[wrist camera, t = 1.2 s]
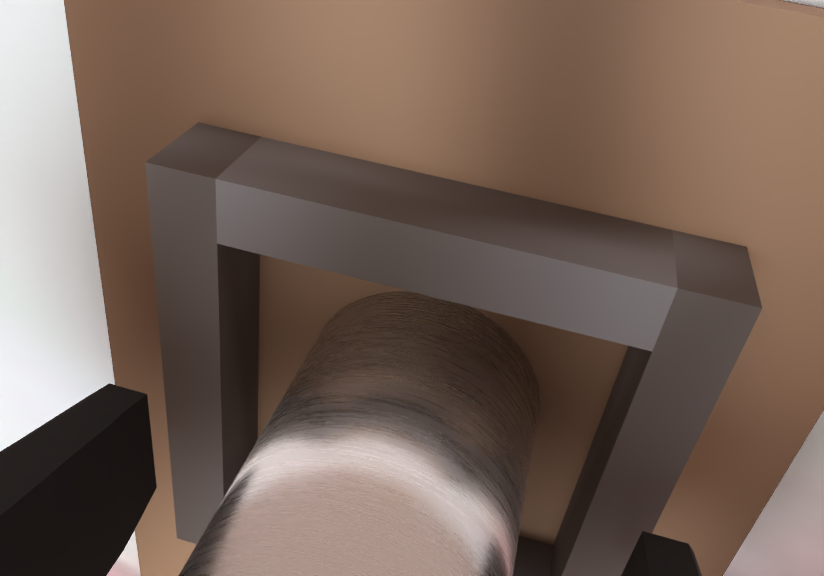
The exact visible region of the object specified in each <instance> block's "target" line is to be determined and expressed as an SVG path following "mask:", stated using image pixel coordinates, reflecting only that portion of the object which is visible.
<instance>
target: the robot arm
mask: <svg viewBox="0 0 824 576" xmlns="http://www.w3.org/2000/svg"><path fill="white" fill-rule="evenodd" d="M156 488H157V484H156V475H155V465H154V455H153V445H152V436H151V426H150V416H149V406H148V397H147V394H145V393H142V392H138V391H135V390H131V389H127V388H124V387H120V386H116V385H113V384H108V385H106V386H104V387H103V388H101V389H99V390H98V391H96V392H95V393H93V394H91V395H90V396H88V397H86V398H85V399H83V400H82V401H80V402H78V403H77V404H75V405H74V406H72V407H70V408H69V409H67V410H66V411H64V412H63V413H61V414H59V415H58V416H56V417H55V418H53V419H52V420H50V421H48V422H47V423H45V424H44V425H42V426H41V427H39V428H37V429H36V430H34V431H33V432H31V433H29V434H28V435H26V436H25V437H23V438H22V439H20V440H18V441H17V442H15V443H14V444H12V445H10V446H9V447H7V448H5V449H4V450H2V451H1V452H0V576H106V575H107V574H108V572H109V571H110V569H111V568H112V566H113V565H114V563H115V562H116V560H117V559H118V557H119V556H120V554H121V553H122V551H123V550H124V548H125V546H126V545H127V543H128V541H129V539H130V537H131V535H132V534H133V532H134V530H135V528H136V526H137V525H138V523H139V521H140V519H141V517H142V515H143V513H144V511H145V509H146V507H147V505H148V503H149V501H150V500H151V498H152V496H153V494H154V492H155V490H156ZM621 576H702V574H701V571H700V568H699V565H698V563H697V560H696V557H695V554H694V551H693V550H692V548H691V547H690V545H689V544H688V543H684V542H681V541H677V540H674V539H670V538H666V537H663V536H659V535H655V534H652V533H648V532H645V531H642V533H641V535H640V537H639V539H638V541H637V543H636V545H635V548H634V550H633V552H632V554H631V556H630V558H629V560H628V562H627V564H626V566H625V568H624V570H623V573H622V575H621Z"/></svg>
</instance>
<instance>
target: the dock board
mask: <svg viewBox="0 0 824 576" xmlns="http://www.w3.org/2000/svg"><path fill="white" fill-rule="evenodd" d="M64 5H65V12H66V20H67V27H68V35H69V42H70V50H71V57H72V65H73V72H74V80H75V87H76V95H77V102H78V110H79V117H80V124H81V132H82V139H83V147H84V154H85V162H86V169H87V177H88V184H89V192H90V199H91V207H92V214H93V222H94V229H95V237H96V244H97V251H98V259H99V266H100V274H101V281H102V289H103V296H104V304H105V311H106V319H107V326H108V334H109V341H110V349H111V356H112V364H113V371H114V378H115V385H116V386H120V387H124V388H127V389H131V390H135V391H138V392H142V393H145V394H147V397H148V406H149V416H150V426H151V436H152V445H153V455H154V465H155V475H156V484H157V488H156V490H155V492H154V494H153V496H152V498H151V500H150V501H149V503H148V505H147V507H146V509H145V511H144V513H143V515H142V517H141V519H140V521H139V523H138V525H137V526H136V528H135V535H136V543H137V550H138V558H139V565H140V573H141V576H179V574H180V572H181V571H182V569H183V567H184V565H185V564H186V562H187V560H188V559H189V557H190V555H191V553H192V552H193V550H194V548H195V547H196V545H197V543H198V541H199V540H200V538H201V536H202V535H203V533H204V531H205V529H206V528H207V526H208V524H209V523H210V521H211V519H212V517H213V516H214V514H215V512H216V511H217V509H218V507H219V505H220V504H221V502H222V500H223V499H224V497H225V495H226V493H227V492H228V490H229V488H230V487H231V485H232V483H233V481H234V480H235V478H236V476H237V474H238V473H239V471H240V469H241V468H242V466H243V464H244V462H245V461H246V459H247V457H248V456H249V454H250V452H251V450H252V449H253V447H254V445H255V444H256V442H257V440H258V438H259V437H260V435H261V433H262V432H263V430H264V428H265V426H266V425H267V423H268V421H269V420H270V418H271V416H272V414H273V413H274V411H275V409H276V408H277V406H278V404H279V402H280V401H281V399H282V397H283V396H284V394H285V392H286V390H287V389H288V387H289V385H290V384H291V382H292V380H293V378H294V377H295V375H296V373H297V372H298V370H299V368H300V366H301V365H302V363H303V361H304V360H305V358H306V356H307V354H308V353H309V351H310V349H311V348H312V346H313V344H314V342H315V341H316V339H317V337H318V335H319V334H320V332H321V330H322V329H323V327H324V326H325V325H326V323H327V322H328V321H329V320H330V318H332V317H333V316H334V315H335V314H336V313H337V312H338V311H339V310H341V309H342V308H344V307H346V306H347V305H349V304H350V303H352V302H355V301H357V300H359V299H361V298H364V297H367V296H371V295H374V294H379V293H385V292H391V291H410V292H414V293H418V294H422V295H426V296H430V297H434V298H438V299H442V300H446V301H450V302H455V303H459V304H463V305H467V306H470V307H472V308H474V309H475V310H477V311H479V312H481V313H482V314H484V315H486V316H487V317H489V318H490V319H491V320H493V321H494V322H496V323H497V324H498V325H499V326H500V327H502V328H503V329H504V330H505V331H506V332H507V333H508V334H509V335H510V336H511V337H512V338H513V339H514V340H515V342H516V343H517V344H518V345H519V346H520V348H521V349H522V351H523V352H524V354H525V355H526V357H527V358H528V360H529V362H530V365H531V367H532V369H533V371H534V374H535V377H536V381H537V385H538V392H539V409H538V415H537V422H536V428H535V435H534V441H533V448H532V454H531V461H530V467H529V474H528V480H527V487H526V493H525V500H524V506H523V513H522V519H521V526H520V532H519V539H518V545H517V552H516V558H515V565H514V571H513V576H621V575H622V573H623V570H624V568H625V566H626V564H627V562H628V560H629V558H630V556H631V554H632V552H633V550H634V548H635V545H636V543H637V541H638V539H639V537H640V535H641V533H642V531H645V532H648V533H652V534H655V535H659V536H663V537H666V538H670V539H674V540H677V541H681V542H684V543H688V544H689V545H690V547H691V548H692V550H693V551H694V554H695V557H696V560H697V563H698V565H699V568H700V571H701V574H702V576H723V574H724V573H725V571H726V569H727V568H728V566H729V565H730V563H731V561H732V560H733V558H734V556H735V555H736V553H737V551H738V550H739V548H740V546H741V545H742V543H743V542H744V540H745V538H746V537H747V535H748V533H749V532H750V530H751V528H752V527H753V525H754V523H755V522H756V520H757V519H758V517H759V515H760V514H761V512H762V510H763V509H764V507H765V505H766V504H767V502H768V500H769V499H770V497H771V496H772V494H773V492H774V491H775V489H776V487H777V486H778V484H779V482H780V481H781V479H782V477H783V476H784V474H785V473H786V471H787V469H788V468H789V466H790V464H791V463H792V461H793V459H794V458H795V456H796V454H797V453H798V451H799V450H800V448H801V446H802V445H803V443H804V441H805V440H806V438H807V436H808V435H809V433H810V431H811V430H812V428H813V426H814V425H815V423H816V422H817V420H818V418H819V417H820V415H821V413H822V412H823V410H824V9H823V8H818V7H812V6H807V5H802V4H796V3H791V2H785V1H780V0H64Z"/></svg>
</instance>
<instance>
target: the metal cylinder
mask: <svg viewBox="0 0 824 576" xmlns="http://www.w3.org/2000/svg"><path fill="white" fill-rule="evenodd" d="M538 409H539V392H538V385H537V381H536V377H535V374H534V371H533V369H532V367H531V365H530V362H529V360H528V358H527V357H526V355H525V354H524V352H523V351H522V349H521V348H520V346H519V345H518V344H517V343H516V342H515V340H514V339H513V338H512V337H511V336H510V335H509V334H508V333H507V332H506V331H505V330H504V329H503V328H502V327H500V326H499V325H498V324H497V323H496V322H494V321H493V320H491V319H490V318H489V317H487V316H486V315H484V314H482V313H481V312H479V311H477V310H475V309H474V308H472V307H470V306H467V305H463V304H459V303H455V302H450V301H446V300H442V299H438V298H434V297H430V296H426V295H422V294H418V293H414V292H410V291H391V292H385V293H379V294H374V295H371V296H367V297H364V298H361V299H359V300H357V301H355V302H352V303H350V304H349V305H347V306H346V307H344V308H342V309H341V310H339V311H338V312H337V313H336V314H335V315H334V316H333V317H332V318H330V320H329V321H328V322H327V323H326V325H325V326H324V327H323V329H322V330H321V332H320V334H319V335H318V337H317V339H316V341H315V342H314V344H313V346H312V348H311V349H310V351H309V353H308V354H307V356H306V358H305V360H304V361H303V363H302V365H301V366H300V368H299V370H298V372H297V373H296V375H295V377H294V378H293V380H292V382H291V384H290V385H289V387H288V389H287V390H286V392H285V394H284V396H283V397H282V399H281V401H280V402H279V404H278V406H277V408H276V409H275V411H274V413H273V414H272V416H271V418H270V420H269V421H268V423H267V425H266V426H265V428H264V430H263V432H262V433H261V435H260V437H259V438H258V440H257V442H256V444H255V445H254V447H253V449H252V450H251V452H250V454H249V456H248V457H247V459H246V461H245V462H244V464H243V466H242V468H241V469H240V471H239V473H238V474H237V476H236V478H235V480H234V481H233V483H232V485H231V487H230V488H229V490H228V492H227V493H226V495H225V497H224V499H223V500H222V502H221V504H220V505H219V507H218V509H217V511H216V512H215V514H214V516H213V517H212V519H211V521H210V523H209V524H208V526H207V528H206V529H205V531H204V533H203V535H202V536H201V538H200V540H199V541H198V543H197V545H196V547H195V548H194V550H193V552H192V553H191V555H190V557H189V559H188V560H187V562H186V564H185V565H184V567H183V569H182V571H181V572H180V574H179V576H513V571H514V565H515V558H516V552H517V545H518V539H519V532H520V526H521V519H522V513H523V506H524V500H525V493H526V487H527V480H528V474H529V467H530V461H531V454H532V448H533V441H534V435H535V428H536V422H537V415H538Z"/></svg>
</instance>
